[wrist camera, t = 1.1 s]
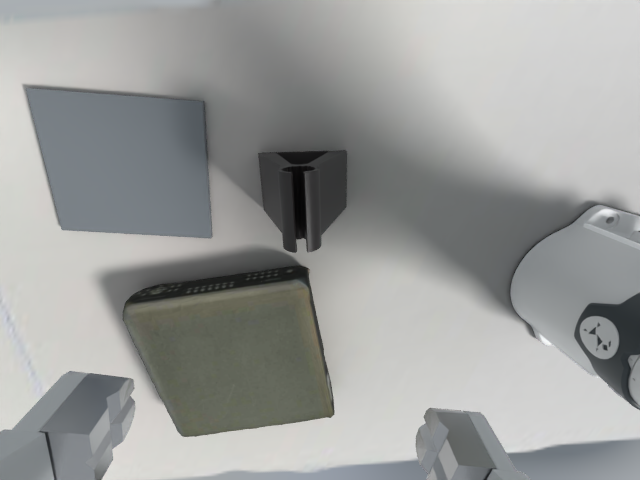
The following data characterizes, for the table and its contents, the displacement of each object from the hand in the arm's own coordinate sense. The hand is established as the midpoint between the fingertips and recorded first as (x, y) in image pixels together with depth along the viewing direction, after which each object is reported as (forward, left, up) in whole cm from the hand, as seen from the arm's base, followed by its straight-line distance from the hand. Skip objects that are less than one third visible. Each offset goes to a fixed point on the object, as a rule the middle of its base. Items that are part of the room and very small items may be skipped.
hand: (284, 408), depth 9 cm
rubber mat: (+18, -1, -27) cm, 33 cm away
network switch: (+7, +21, -28) cm, 36 cm away
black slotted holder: (0, -1, -27) cm, 27 cm away
